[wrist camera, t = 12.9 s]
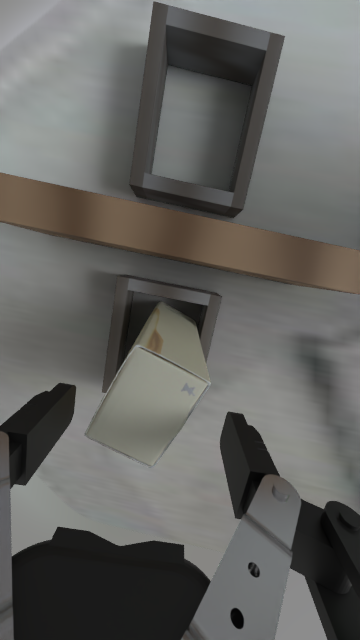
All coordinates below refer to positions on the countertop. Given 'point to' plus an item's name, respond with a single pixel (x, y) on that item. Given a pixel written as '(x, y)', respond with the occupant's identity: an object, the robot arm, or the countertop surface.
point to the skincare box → (153, 389)
